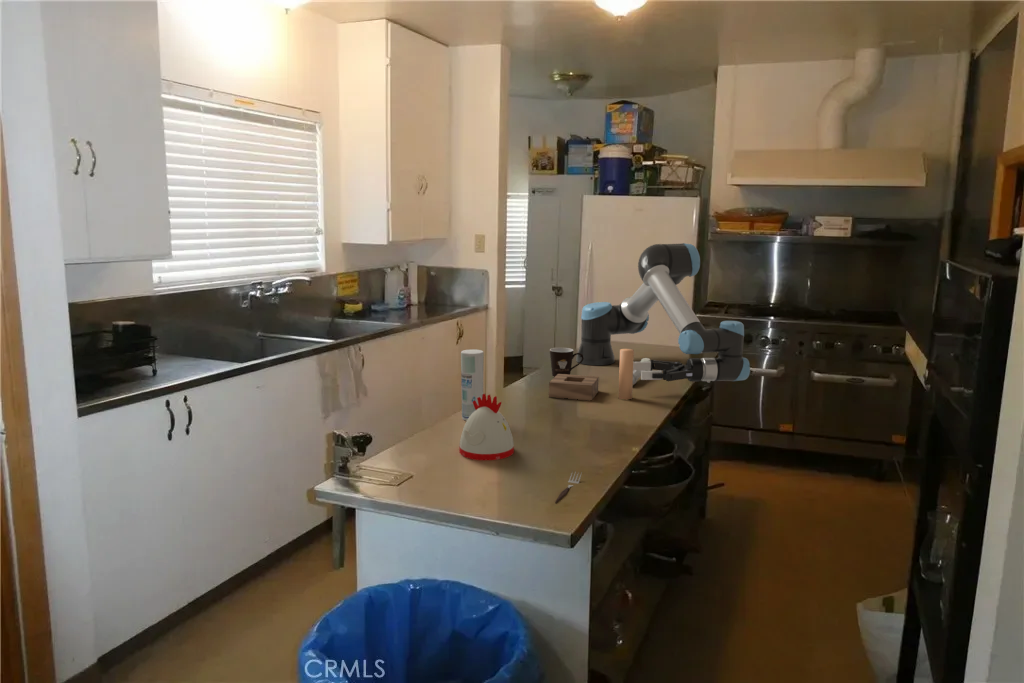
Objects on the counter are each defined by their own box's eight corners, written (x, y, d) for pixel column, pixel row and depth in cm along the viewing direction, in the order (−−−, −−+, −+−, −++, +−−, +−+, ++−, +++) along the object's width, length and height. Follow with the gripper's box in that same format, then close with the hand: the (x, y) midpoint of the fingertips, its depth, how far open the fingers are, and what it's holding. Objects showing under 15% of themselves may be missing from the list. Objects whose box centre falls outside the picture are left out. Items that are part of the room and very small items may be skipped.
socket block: (557, 388, 257) (557, 373, 256) (598, 391, 253) (598, 376, 252) (549, 397, 244) (549, 382, 243) (591, 400, 241) (591, 385, 240)
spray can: (488, 418, 220) (488, 351, 217) (472, 422, 216) (471, 354, 212) (472, 413, 225) (472, 348, 221) (456, 418, 220) (456, 351, 216)
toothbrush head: (620, 376, 259) (641, 353, 280) (620, 394, 261) (641, 370, 282) (634, 377, 256) (655, 354, 278) (634, 395, 258) (654, 371, 280)
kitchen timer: (494, 464, 182) (494, 404, 179) (448, 454, 189) (447, 396, 186) (523, 448, 193) (524, 392, 191) (479, 439, 201) (479, 385, 198)
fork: (549, 504, 159) (549, 495, 158) (571, 478, 173) (571, 470, 173) (561, 506, 158) (561, 497, 157) (582, 480, 172) (582, 472, 172)
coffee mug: (546, 378, 271) (546, 351, 269) (553, 373, 279) (554, 346, 277) (576, 381, 267) (577, 353, 265) (583, 376, 275) (584, 349, 273)
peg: (619, 396, 246) (620, 348, 243) (632, 397, 245) (634, 349, 242) (617, 399, 242) (619, 350, 239) (631, 400, 241) (632, 351, 238)
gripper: (713, 390, 232) (645, 391, 230) (688, 372, 256) (626, 373, 254) (714, 366, 230) (646, 367, 229) (689, 350, 255) (627, 351, 253)
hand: (636, 370), depth 241 cm, fingers open, 13 cm apart
